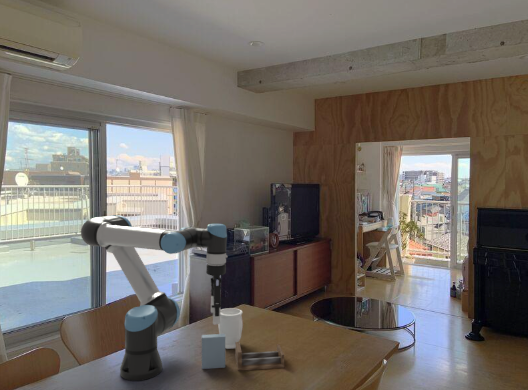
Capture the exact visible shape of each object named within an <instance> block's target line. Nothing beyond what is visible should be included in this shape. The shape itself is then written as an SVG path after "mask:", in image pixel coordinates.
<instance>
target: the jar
mask: <svg viewBox="0 0 528 390" xmlns="http://www.w3.org/2000/svg"><path fill="white" fill-rule="evenodd" d="M242 315H243V310H242V309H239V308H234V307H229V308H226V307H225V308H222V309H221V311H220V324H217V325H218V334H225V349H227V350H228V349H231V350H232V349H235V347H236V342H239V343H240V341H241V338H242V331H243V317H242ZM240 344H241V343H240Z"/></svg>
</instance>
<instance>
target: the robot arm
mask: <svg viewBox="0 0 528 390" xmlns="http://www.w3.org/2000/svg"><path fill="white" fill-rule="evenodd" d="M80 236H81V239H82V241H83V242H84V243H85V244H86V245H88V246H91V247H102V248H105V250H106V252H107V253H111V254H113V256H114V258H115V260H116V261H117V264H118V265H119V267H120V269H121V271H122V272H123V274H124V276H125V278H126V279H127V281H128V283H129V285H130V287H131V288H132V290H133V291H134V293H135V295H136V297H137V299H138V301H139V302H140V305H139V306H135V307H133V308H131V309H129V310H128V311H127V312H126V314H125V316H124V324H123V325H124V355H123V358H122V362H121V364H120V367H119V369H120V370H119V375H120V377H121V378H122V379H124V380H127V381H132V382H133V381H145V380H149V379H152V378H155V377H156V376H158V375H160V373H161V372H162V370H163V361H162V358H161V356H160V352H159V350H158V337H159V336H160V335H162V334H163V333H165V332H167V331H168V330H170V329H171V328H173V327H174V326H175V325H176V324H177V323H178V321H179V319H180V316H181V309H180V306H179V304H178V302H177V301H176V300H175V299H173V298H171V297H168V296H167V293H166V292H164V291H160V289H159V288H158V287H157V284H156V282H155V281H154V279H153V277H152V276H151V273H150V272H149V270H148V269H147V267H146V265H145V264H144V262H143V260H142V258H141V257H140V255H139V253H138V251H137V249H143V250H144V249H147V250H155V251H163V252H164V253H166V254H170V255H173V254H178V253H180V252H183V251H186V250H191V249H192V248H202V249H206V274H207V275H208V276H211V277H210V295H211V296H210V313H212V325H213V326H214V325H218V324H220V311H221V310H222V309H221V308H222V292H221V291H222V278H221V276H223V275H225V274H226V273H227V265H226V263H227V258H228V254H227V239H228V234H227V226H226V225H225V224H223V223H209V224H207V227H206V228H203V227H202V228H201V227H200V228H199V227H190V226H187V227H186V226H185V227H181V228H180V229H179V230H177V231H176V230H166V229H154V228H145V227H134V226H132V223H131V222H130V220H129V219H128V218H127V217H125V216H124V215H120V214H119V215H118V214H117V215H116V214H111V215H108V216H107V215H105V216H96V217H91V218H89V219H88V220H86V221H85V222H84V223H83V224H82V226H81V230H80Z"/></svg>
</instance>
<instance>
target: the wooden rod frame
mask: <svg viewBox="0 0 528 390" xmlns="http://www.w3.org/2000/svg"><path fill="white" fill-rule="evenodd" d="M239 342H240V341H239ZM239 342H236V347H235V348H234V350H235V356H234V357H235V363H236V368H237V371H238V372H239V371H240V372H241V371H250V370H251V371H253V370H266V369H267V370H268V369H278V368H279V369H280V368H285V353H284V351H283V348H281V347H282V346H281V345H280V344H279V343H278V344H276V350H275V351H274V350H273V351H272V350H271V351H259V352H258V351H257V352H244V353H243V352H242V348H241V343H239Z"/></svg>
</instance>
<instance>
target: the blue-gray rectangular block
mask: <svg viewBox="0 0 528 390" xmlns="http://www.w3.org/2000/svg"><path fill="white" fill-rule="evenodd" d="M219 368H220V369H221V368H222V369H223V368H226V348H225V334H219V333H217V334H215V333H213V334H201V370H205V369H219Z"/></svg>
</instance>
